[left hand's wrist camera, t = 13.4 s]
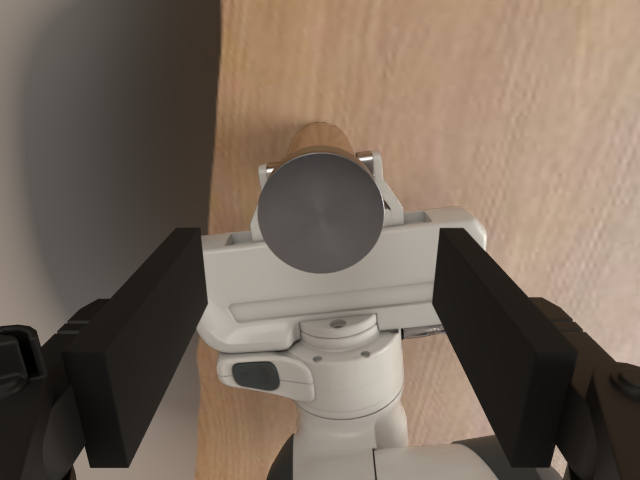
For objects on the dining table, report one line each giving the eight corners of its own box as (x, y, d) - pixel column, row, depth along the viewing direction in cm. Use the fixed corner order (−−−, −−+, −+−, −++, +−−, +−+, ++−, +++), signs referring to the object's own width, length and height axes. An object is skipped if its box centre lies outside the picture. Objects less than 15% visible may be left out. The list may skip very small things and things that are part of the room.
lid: (277, 265, 22) (273, 283, 20) (250, 158, 20) (242, 166, 18) (386, 245, 22) (393, 262, 20) (369, 134, 20) (374, 140, 18)
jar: (297, 188, 35) (281, 270, 20) (283, 129, 33) (256, 171, 19) (355, 177, 35) (381, 252, 20) (345, 116, 33) (365, 150, 18)
